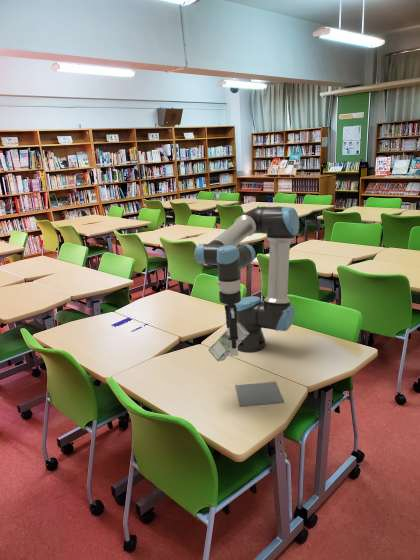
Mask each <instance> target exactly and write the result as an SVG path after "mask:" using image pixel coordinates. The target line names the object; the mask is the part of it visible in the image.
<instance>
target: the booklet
mask: <svg viewBox="0 0 420 560" xmlns="http://www.w3.org/2000/svg"><path fill="white" fill-rule="evenodd" d="M132 319H133V318H130V317H127V318H124V319H122V320H120V321H117V322H115V323H113V324H111V326H113V327H115V328H117V327H116V326H118V327H120V326H122V325H125V324H127V323H129V322H131V320H132ZM128 321H129V322H128ZM132 321H133V320H132ZM144 324H145V325H147V326H149V325H148V324H149V323H148V324H146V323H144ZM144 324H143V325H144ZM145 325H144V327H146V326H145ZM142 328H143V327H141V326H139V327H137V328H134V329H133V330H131V331H130V332H132V333H134V332H136V331H138V330H140V329H142Z"/></svg>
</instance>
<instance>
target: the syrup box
mask: <svg viewBox="0 0 420 560" xmlns="http://www.w3.org/2000/svg"><path fill="white" fill-rule="evenodd" d="M237 333H238V340H237V343H238V345H239V344H240V343H241V342H242V341H243V340H244V339H245V338H246V337H247V335H248V334H249V332H248V331H247V330H246V329H245V328H244V327H243V326H242V325H241V324H240V323H239V322H237ZM228 338H230V332H229V328H226V330H225V332H224V333H222V335H221V336H219V337H218V339H217V340H216V341H215V342H214V343H213V344H212V345H211V346H210V348H209V349H208V352H209V353H210V354H211V355H212V356H213V358H214V359H215V360H216V361H217V362H224V361H225V360H226V359H227V357H228V356H230V341H229V340H228Z"/></svg>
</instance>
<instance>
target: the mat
mask: <svg viewBox="0 0 420 560" xmlns="http://www.w3.org/2000/svg"><path fill="white" fill-rule="evenodd" d="M278 386H279V385H278V384H277V382H276V381H271V382H270V381H268V382H256V383H246V384H235V391H236V395H237V399H238V403H239V407H250V406H260V405H264V406H265V405H273V404H282V403H285V400H284V398H283V396H282V394H281V391H280V389H279V387H278Z"/></svg>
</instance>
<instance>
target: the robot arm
mask: <svg viewBox="0 0 420 560" xmlns="http://www.w3.org/2000/svg"><path fill="white" fill-rule="evenodd" d="M299 230H300V218H299V215H298V212H297V210H296V209H295V208H294V207H289V206H258V207H255V208H252V209H249V210H248V211H245V212H244V213H243V214H241V215H239V216H238V217H237V219H236V220H235V222H234V223H233V224H232V225H231V226H229V227H227V229H225V230H223V232H222V233H220V234H219V235H217V236H216V237H215V238H214V239H213V240H211V241H210V242H209V243H198V244H197V245H196V247H195V248H194V253H193V254H194V260H195V261H196V262H197V263H198V264H203V265H211V266H217V276H218V277H217V278H218V279H217V280H218V282H216V285H217V286H218V290H219V292H218V297H219V298H218V299H219V302H220V303H221V304H224V311H225V312H224V313H225V324H226V329H228V328H229V332H230V338H228V340H229V341H230V354H229V356H230V357H237V356H239V351H240V352H244V353H253V352H259V351H261V350H264V348H265V347H266V344H267V343H266V338H265V335H264V333H263V331H262V329H265V330H266V329H267V330H268V329H269V330H273V331H277V332H278V331H281V332H286V331H288V330H289V329H290V328H291V326H292V324H293V322H294V318H295V312H296V310H295V306H293V305H292V304H291V299H290V298H288V289H289V287H288V286H289V269H290V268H289V266H290V251H291V250H290V248H291V243H292V241H294V238H295V235H298V233H299ZM254 234H266V239H267V240H268V241H269V257H268V259H269V260H268V275H267V279H268V281H267V296H266V297H265V298H264V299H263V301H262V299H261V297H259V296H255V295H251V296H245V297H242V296H241V295H242V293H241V292H242V291H241V290H242V289H241V288H242V287H241V277H240V276H241V275H240V274H241V269H244V268H246V267H247V266H250V264H251V263H252V262H253V261H255V258H256V251H255V249H254V247H253V246H252V245H250V244H248V243H244V244H243V243H242V244H240V243H241V242H242V241H243V240H245V239H246V238H247V237H252V235H254ZM239 244H240V245H239ZM237 322H239V323H240V324H241V325H242V326H243V327H244V328H245V329H246V330H247V331H248V332H249V334H248V335H247V337H246V338H245V339H244V340H243V341H242V342H241V343H240V344H239V345H238V343H237V340H238V333H237Z"/></svg>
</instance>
